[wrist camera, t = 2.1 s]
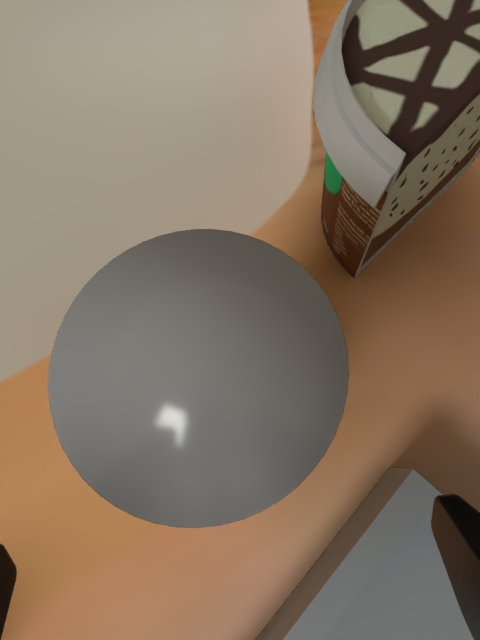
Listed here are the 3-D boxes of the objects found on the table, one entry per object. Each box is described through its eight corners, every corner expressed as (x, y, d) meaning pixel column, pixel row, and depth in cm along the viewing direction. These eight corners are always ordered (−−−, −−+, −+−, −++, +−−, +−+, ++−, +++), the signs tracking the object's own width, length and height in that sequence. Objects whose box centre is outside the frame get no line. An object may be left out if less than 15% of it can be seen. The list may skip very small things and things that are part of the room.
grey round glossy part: (239, 513, 18) (198, 609, 7) (148, 421, 20) (-11, 373, 8) (324, 412, 19) (411, 350, 8) (232, 332, 21) (194, 181, 9)
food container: (398, 91, 25) (481, -136, 15) (485, 150, 23) (639, -62, 14) (249, 222, 23) (237, 53, 13) (334, 297, 21) (392, 166, 12)
